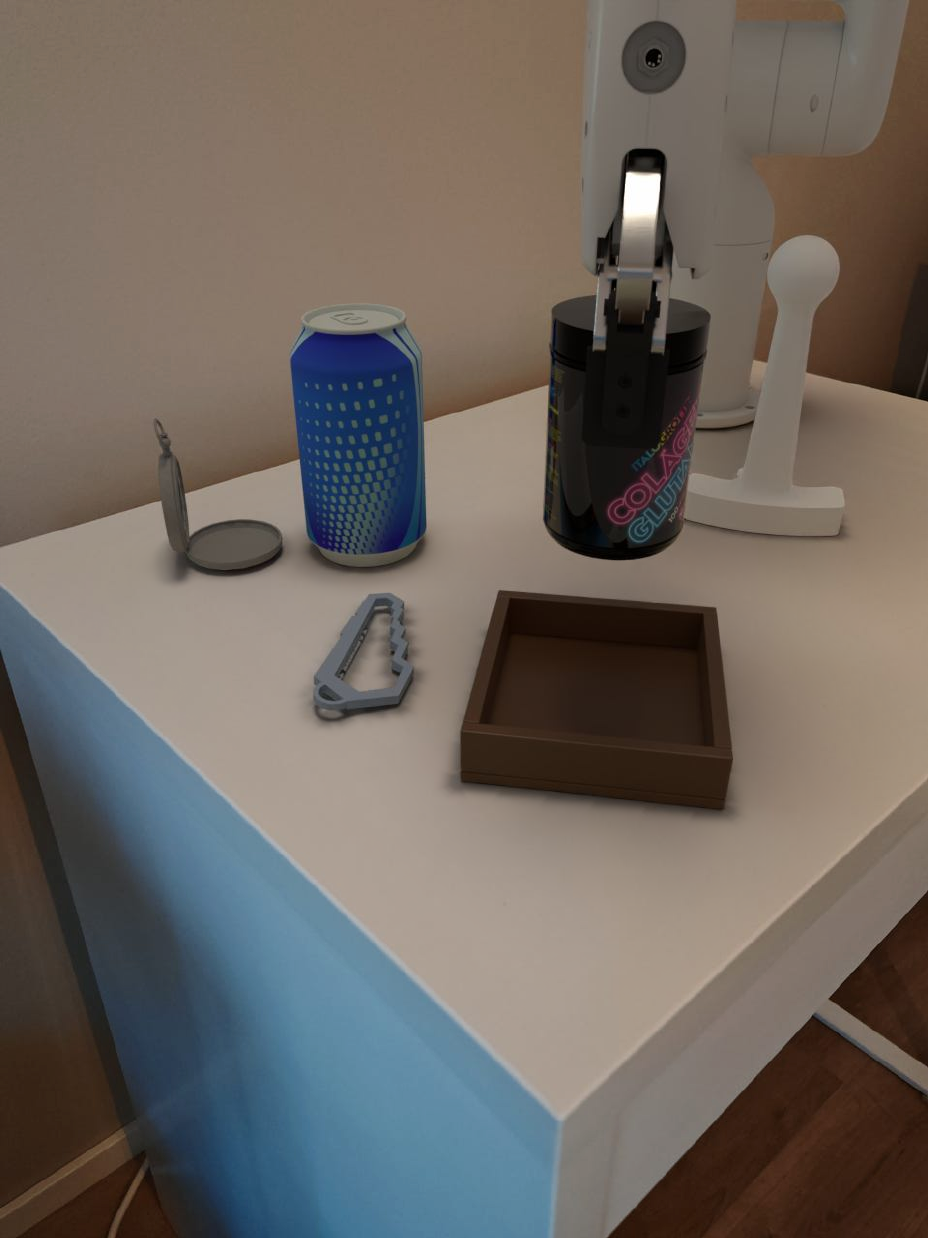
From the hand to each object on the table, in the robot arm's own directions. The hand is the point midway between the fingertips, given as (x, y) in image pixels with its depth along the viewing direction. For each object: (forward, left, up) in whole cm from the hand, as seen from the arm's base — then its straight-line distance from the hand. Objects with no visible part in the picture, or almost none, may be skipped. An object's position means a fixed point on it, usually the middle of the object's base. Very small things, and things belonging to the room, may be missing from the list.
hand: (622, 410), depth 43 cm
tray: (0, 0, -17) cm, 17 cm away
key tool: (-3, -13, -17) cm, 21 cm away
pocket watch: (-14, -27, -17) cm, 35 cm away
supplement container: (0, 0, -6) cm, 6 cm away
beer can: (-17, -17, -17) cm, 29 cm away
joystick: (-27, +11, -17) cm, 34 cm away
